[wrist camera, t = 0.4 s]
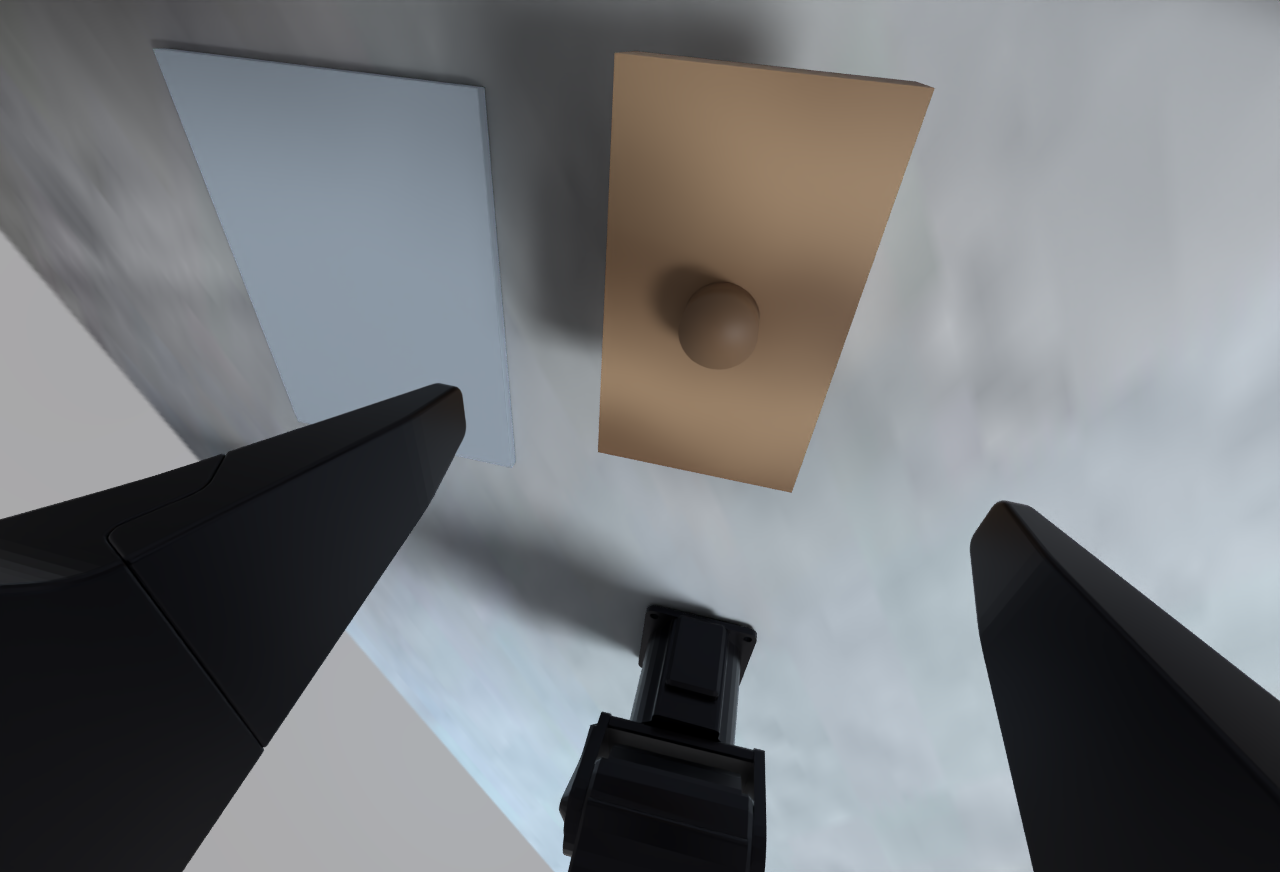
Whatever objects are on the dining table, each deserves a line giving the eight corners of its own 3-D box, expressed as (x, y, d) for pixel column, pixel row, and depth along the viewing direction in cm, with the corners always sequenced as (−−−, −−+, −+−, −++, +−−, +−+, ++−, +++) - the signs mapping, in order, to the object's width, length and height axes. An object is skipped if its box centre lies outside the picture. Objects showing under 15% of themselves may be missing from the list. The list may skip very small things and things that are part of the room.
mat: (515, 461, 27) (511, 467, 27) (305, 416, 29) (298, 421, 28) (484, 87, 17) (477, 88, 17) (165, 48, 19) (152, 48, 18)
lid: (791, 454, 19) (791, 514, 16) (613, 418, 20) (589, 470, 17) (915, 81, 12) (946, 92, 10) (636, 51, 13) (601, 53, 10)
